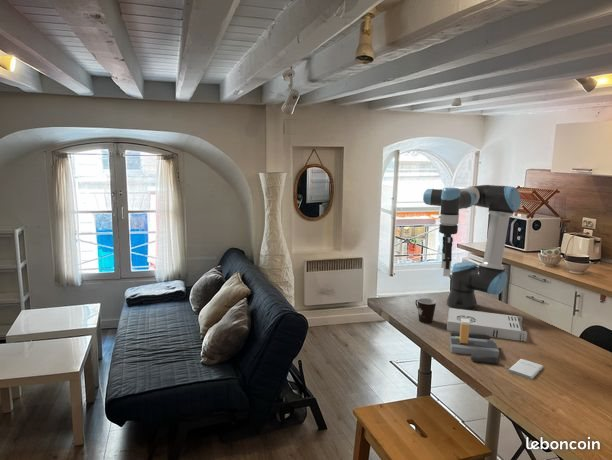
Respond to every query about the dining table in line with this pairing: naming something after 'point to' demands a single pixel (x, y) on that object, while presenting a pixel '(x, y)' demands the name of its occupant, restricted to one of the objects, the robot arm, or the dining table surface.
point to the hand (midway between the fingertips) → (445, 272)
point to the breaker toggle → (464, 330)
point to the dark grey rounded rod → (472, 335)
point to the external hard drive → (526, 368)
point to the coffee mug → (426, 309)
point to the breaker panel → (474, 347)
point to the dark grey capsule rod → (484, 359)
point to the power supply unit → (487, 324)
